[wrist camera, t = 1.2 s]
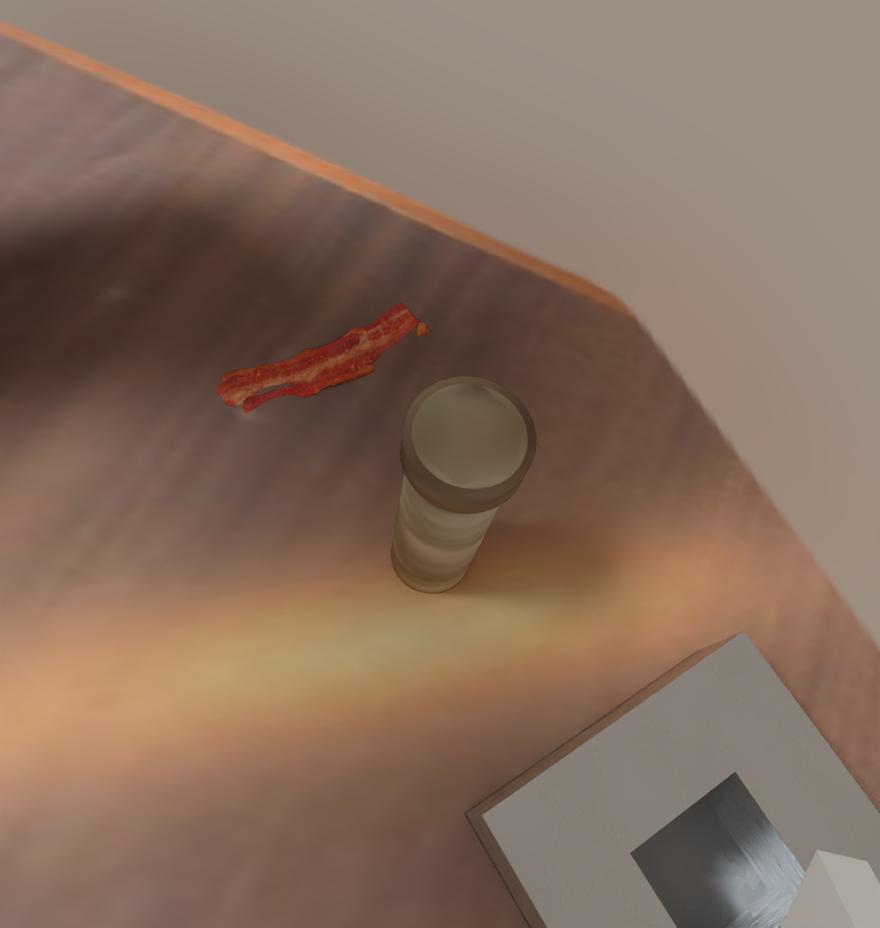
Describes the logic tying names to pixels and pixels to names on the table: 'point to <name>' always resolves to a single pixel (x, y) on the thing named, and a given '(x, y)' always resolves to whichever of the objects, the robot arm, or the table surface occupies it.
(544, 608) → the table surface
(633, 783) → the block
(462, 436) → the beige cylinder
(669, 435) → the table surface
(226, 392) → the bacon strip
